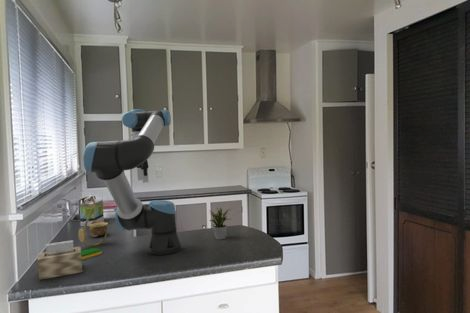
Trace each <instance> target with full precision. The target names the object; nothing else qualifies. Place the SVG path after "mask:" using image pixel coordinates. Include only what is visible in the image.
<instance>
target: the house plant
mask: <svg viewBox="0 0 470 313" xmlns="http://www.w3.org/2000/svg"><path fill="white" fill-rule="evenodd" d="M216 210H217V212H216V213H214V212H213V211H212V210H210V209H209V210H208V211H209V213H210V216H212V219H210V220H208V221H209V222H213V223H214V225H213V227H212V228H213V232H214V236H215V237H214V238H215V240H224V239H226V238H227V229H228V224H224V223H225V222H227V221H229V220H232V217H229V218H227V217H228V213H229V212H230V211H231V210H232V208H228V209H226V211H225V212H224V213H223V209H222V207H220V208H218V207H216ZM226 215H227V216H226Z"/></svg>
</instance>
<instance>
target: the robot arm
mask: <svg viewBox="0 0 470 313" xmlns="http://www.w3.org/2000/svg"><path fill="white" fill-rule="evenodd" d="M121 122H122V124H123V126H124V127H126V128H129V129H131V133H130V136H131V139H124V140H123V139H122V140H110V141H109V140H108V141H106V140H105V141H93V142H89V143H88V144H87V145H86V146H85V148H84V150H83V156H82V157H83V158H82V160H83V167H84V170H85V171H86V172H87V173H89V174H90V173H91V174H92V173H94V174H95V176H96V177H97V178H98V179H99V180H101V181H103V182H104V184H105V186H106V188H107V190H108V192H109V193H110V195H111V197H112V198H113V201H114V202H115V204H116V210H115V215H114V216H115V217H114V218H115V222H116V226H118V228H119V229H121V231H135V230H136V231H137V230H138V231H139V230H150V231H151V238H150V240H149V246H148V253H149V254H151V255H157V256H162V255H163V256H164V255H170V254H175V253H177V252H180V251H181V250H182V241H181V239H180V237H179V235H178V232H177V231H178V229H177V216H176V215H177V214H176V212H177V211H176V205H175V203H174V202H173V201H170V200H162V199H156V200H155V199H154V200H150V201H149V203H148V204H147V203H143V202H142V200H140V199H139V198H137V197H136V196H135V193H134V191H133V189H132V187H131V184H130V182H129V180H128V178H127V175H126V174H125V172H124V171H129V170H133V169H135V168H136V173H137V181H142V183H143V184H144V183H149V169H148V168H149V162H148V159H149V158H151V155H153V153H154V150H155V143H156V141H157V139H158V137H159V135H160V133H161V131H162V129H163V127H168V126H170V125H171V123H172V116H171V113H170V111H169V110H167V109H161V110H160V109H158V110H149V111H148V110H147V111H146V110H145V109H140V108H139V109H138V108H137V109H131V110H130V111H127V112H124V113H123V115H122V116H121Z"/></svg>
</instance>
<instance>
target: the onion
mask: <svg viewBox="0 0 470 313" xmlns="http://www.w3.org/2000/svg"><path fill="white" fill-rule="evenodd" d="M101 222H104V221H93V222H92V223H91V224H94V223H101ZM103 227H105V229H106V231H107V232H108V224H107V225H105V226H103ZM94 228H95V227H89V233H90V234H91V231H92V230H93V229H94ZM99 230H101V231H100V233H98V232H97V231H98V229H95V230H94V231H93V235H98V236H96V237H103V236H105V231H104V229H103V228H100V229H99ZM96 237H95V238H96Z"/></svg>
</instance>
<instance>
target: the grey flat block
mask: <svg viewBox="0 0 470 313" xmlns="http://www.w3.org/2000/svg"><path fill="white" fill-rule="evenodd" d="M74 247H75V246H74V239H73V240H72V239H71V240H65V241H64V240H63V241H60V242H52V243H46V245H45V252H47V256H51V255H57V254H64V253H70V252H74Z"/></svg>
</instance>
